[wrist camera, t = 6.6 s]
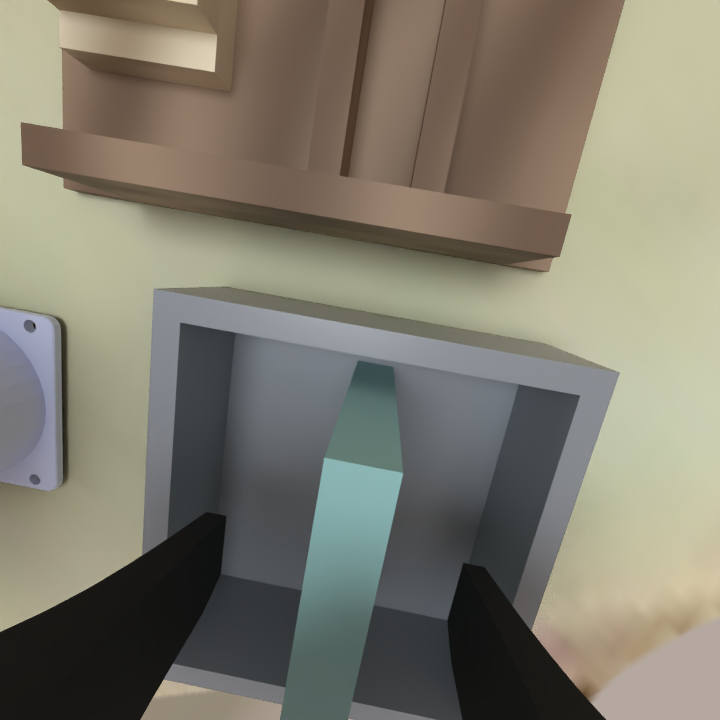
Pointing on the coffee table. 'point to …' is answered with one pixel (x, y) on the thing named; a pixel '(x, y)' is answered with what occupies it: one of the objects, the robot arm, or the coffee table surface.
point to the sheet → (346, 548)
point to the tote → (304, 468)
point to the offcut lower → (153, 48)
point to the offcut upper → (152, 12)
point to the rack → (359, 124)
